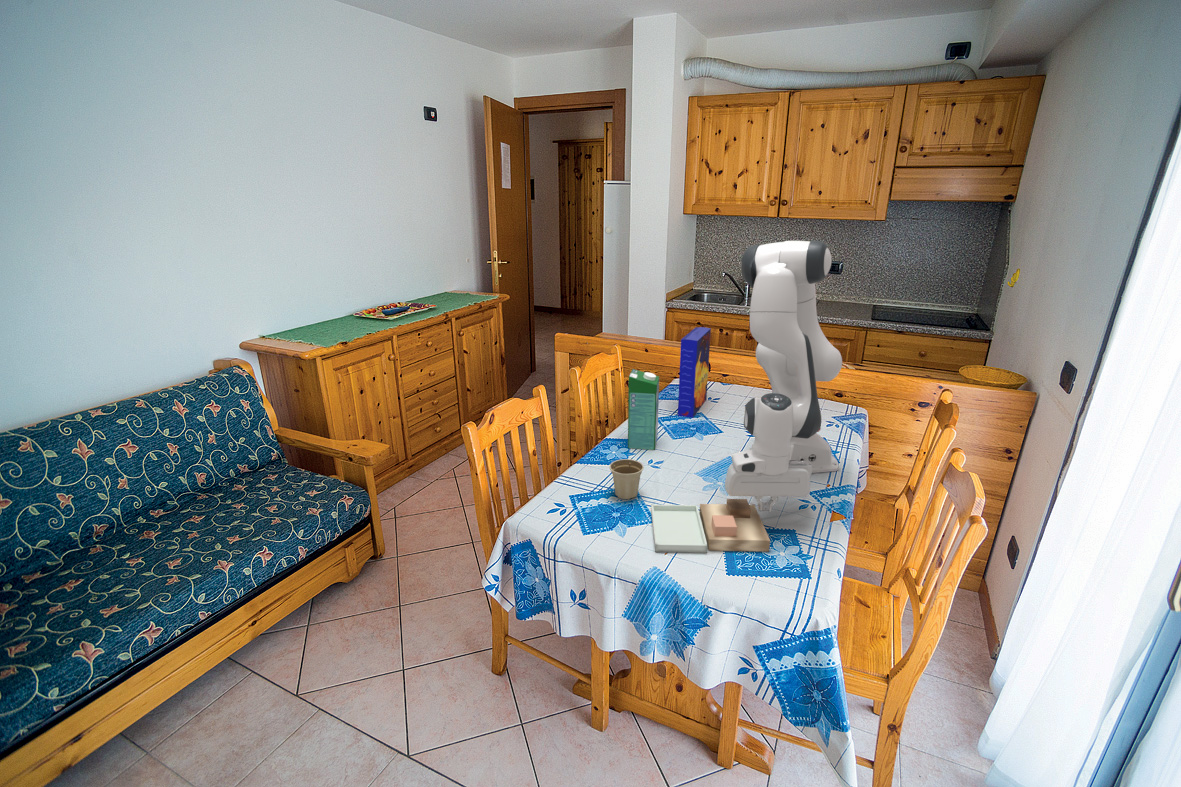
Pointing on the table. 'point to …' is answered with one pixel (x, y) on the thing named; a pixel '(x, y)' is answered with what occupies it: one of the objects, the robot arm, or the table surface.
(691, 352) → the cereal box
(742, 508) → the walnut tile
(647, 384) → the milk carton
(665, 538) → the tray
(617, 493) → the flower pot
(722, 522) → the terracotta tile
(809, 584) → the table surface
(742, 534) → the board
